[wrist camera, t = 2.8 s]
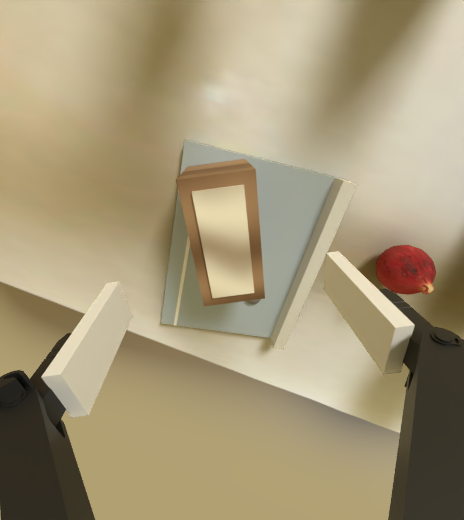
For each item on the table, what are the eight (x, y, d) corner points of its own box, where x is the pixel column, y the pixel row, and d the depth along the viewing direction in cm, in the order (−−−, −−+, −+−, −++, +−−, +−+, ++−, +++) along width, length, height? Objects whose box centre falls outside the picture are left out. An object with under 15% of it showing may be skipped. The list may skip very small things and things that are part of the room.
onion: (357, 250, 32) (397, 283, 25) (400, 227, 31) (454, 255, 24) (371, 281, 35) (410, 319, 28) (411, 261, 34) (462, 295, 27)
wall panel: (185, 139, 25) (181, 140, 22) (343, 178, 28) (357, 184, 25) (162, 317, 36) (157, 333, 33) (278, 333, 39) (283, 349, 36)
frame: (187, 166, 25) (175, 180, 18) (244, 158, 25) (256, 169, 18) (206, 266, 31) (203, 308, 24) (253, 260, 31) (265, 300, 24)
